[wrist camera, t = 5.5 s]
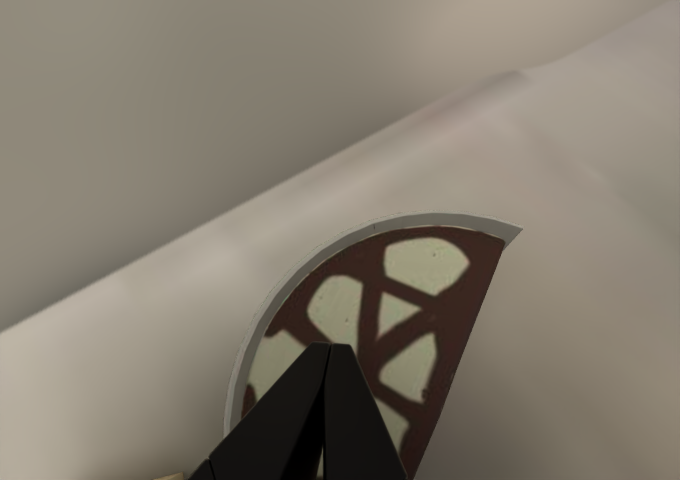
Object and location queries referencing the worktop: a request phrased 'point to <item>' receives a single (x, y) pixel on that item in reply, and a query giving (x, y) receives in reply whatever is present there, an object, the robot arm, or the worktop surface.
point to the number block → (172, 477)
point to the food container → (380, 315)
